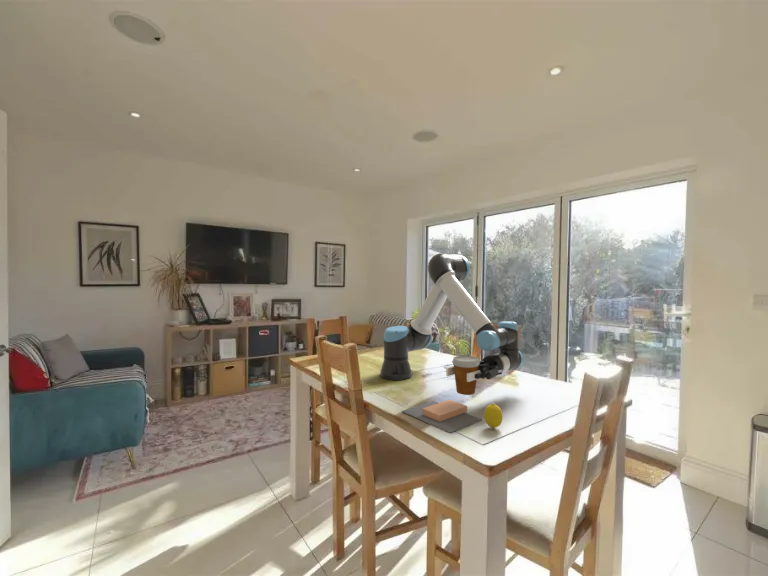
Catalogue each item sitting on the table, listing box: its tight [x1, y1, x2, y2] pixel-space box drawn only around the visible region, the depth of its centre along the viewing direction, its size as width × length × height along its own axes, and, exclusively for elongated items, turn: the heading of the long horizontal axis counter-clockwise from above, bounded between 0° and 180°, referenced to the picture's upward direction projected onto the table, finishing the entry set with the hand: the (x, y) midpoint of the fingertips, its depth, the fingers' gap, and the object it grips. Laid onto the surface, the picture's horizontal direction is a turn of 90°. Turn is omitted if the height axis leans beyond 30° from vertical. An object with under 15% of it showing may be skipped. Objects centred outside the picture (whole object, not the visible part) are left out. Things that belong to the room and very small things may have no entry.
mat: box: [402, 400, 483, 434], centre depth 121 cm, size 22×16×1 cm
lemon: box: [483, 402, 504, 430], centre depth 111 cm, size 6×6×8 cm
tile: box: [422, 399, 468, 422], centre depth 123 cm, size 8×2×14 cm
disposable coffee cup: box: [451, 355, 480, 396], centre depth 125 cm, size 10×10×12 cm
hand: (457, 374), depth 122 cm, fingers closed on disposable coffee cup, 8 cm apart
